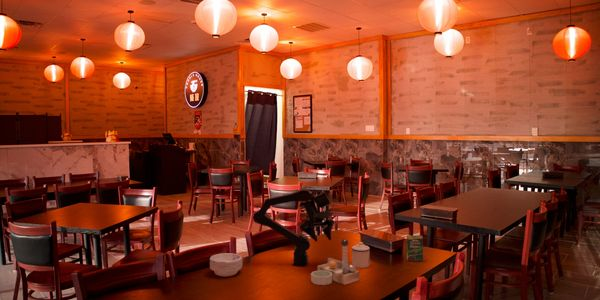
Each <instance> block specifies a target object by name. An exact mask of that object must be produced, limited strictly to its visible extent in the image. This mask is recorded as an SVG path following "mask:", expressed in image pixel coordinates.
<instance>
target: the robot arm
mask: <svg viewBox="0 0 600 300" xmlns="http://www.w3.org/2000/svg"><path fill="white" fill-rule="evenodd" d="M290 202H300V204H299V207H300V209H303V208H304V210H305V213H306V216H305V218H306V220H304V221H303V222H302V223H301V224H300V225H299V228H300V233H296V232H294V231H293V230H291V229H289V228H287V227H286V226H284V225H283V224H281V223H279V222H278V221H277V220H275V219H274V218H272V217H271V216H270V215H269V213H267V212H268V210H269V209H270V207H272V206H273V207H274V206H276V205H281V204H287V203H290ZM329 205H332V203H331V200H330V198H329V196H328V194H327V193H326V191H323V192H321V193H320V194H318V195H316V194H314V193H311V191H310V190H309V189H308V188H307V187H304V188H301V189H298V190H296V191H293V192H291V193H287V194H282V195H277V196H273V197H267V198H265V200H264V202H263V203H262V205H261V207H260V208H259V209H257V210H256V211H255V212H254V214H253V217H252V219H253V222H254V223H255V224H258V225H261V226H264V227H267V228H270V229H271V230H273V231H275V232H276V233H278V234H280V235H281V236H282V237H285V238H286V239H288V240H289V241H290V242H292V244H294V250H293V263H292V264H291V265H292V266H295V267H306V266H307V265H308V264H309V255H308V250H309V249H310V247H311V241H310V238H311V239H312V240H314V241H315V242H317V241H318V240H319V239H318V237H317V234H316V231H315V227H316V228H317V227H321V229H322V232H323V233H324V235H325V236H326V238H327V240H329V241H331V240H332V232H331V231H332V227H333V226H334V225H335V221H334V219H333V218H331V219H330V217H331V216H332V213H331V211H330V209H326V210H324V211H320V210H318V208H319V209H323V208H325V207H328V206H329ZM325 219H326V220H325ZM304 233H305V234H307V235H305V234H304ZM308 236H309V237H310V238H309V237H308Z"/></svg>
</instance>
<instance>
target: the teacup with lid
mask: <svg viewBox="0 0 600 300" xmlns="http://www.w3.org/2000/svg"><path fill="white" fill-rule="evenodd" d="M370 250H371V248H370V247H369V246H368V245H366V244H364V242H362V241H359V242H358V243H357V244H355V245H353V246H352V247H351V264H354V265H355V268H357V269H365V268H369V267H370V265H371V263H370V259H371V258H370V257H371V256H370V252H371V251H370Z"/></svg>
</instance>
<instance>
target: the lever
mask: <svg viewBox="0 0 600 300" xmlns="http://www.w3.org/2000/svg"><path fill="white" fill-rule="evenodd" d="M340 244H341V260H338V259H335V258H333V257H327V263H328V264H329V262H330V261H335V262H336V266H337V267H340V268H342V273H344V274H346V273H348V272H355V270H356V267H355V265H354V264H352V263H348V262H349V261H348V259H349V258H348V254H349V253H348V249H349V248H348V245H349V241H348V239H346V238H343V239H342V240H341V241H340Z"/></svg>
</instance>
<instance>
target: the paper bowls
mask: <svg viewBox="0 0 600 300" xmlns="http://www.w3.org/2000/svg"><path fill="white" fill-rule="evenodd" d="M209 268H210V270H211V271H214V274H215V275H217V276H219V277H231V276H234V275H236V274H237V273H238V271H240V270H241V269H242V268H243V257H242V255H241V254H237V253H232V252H231V253H230V252H229V253H228V252H227V253H225V252H224V253H218V254H213V255H211V256H210V258H209Z"/></svg>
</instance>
